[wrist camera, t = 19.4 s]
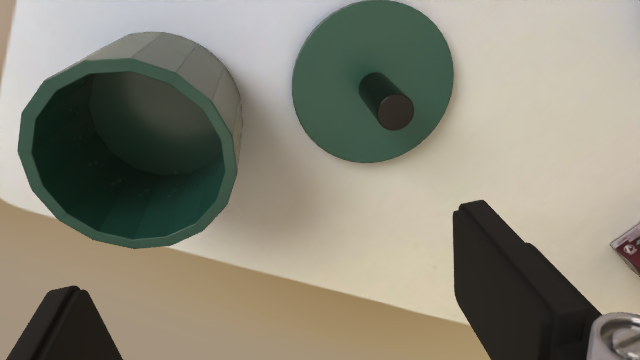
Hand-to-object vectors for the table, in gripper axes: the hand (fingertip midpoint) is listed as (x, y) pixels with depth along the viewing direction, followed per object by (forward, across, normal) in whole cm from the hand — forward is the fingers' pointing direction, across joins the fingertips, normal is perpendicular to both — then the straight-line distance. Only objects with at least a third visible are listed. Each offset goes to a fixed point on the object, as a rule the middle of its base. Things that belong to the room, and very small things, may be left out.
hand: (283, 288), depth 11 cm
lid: (+24, -8, +2) cm, 25 cm away
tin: (+24, +8, +1) cm, 26 cm away
